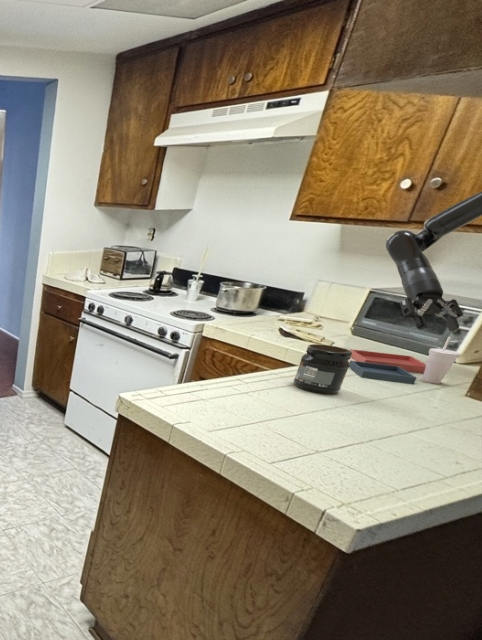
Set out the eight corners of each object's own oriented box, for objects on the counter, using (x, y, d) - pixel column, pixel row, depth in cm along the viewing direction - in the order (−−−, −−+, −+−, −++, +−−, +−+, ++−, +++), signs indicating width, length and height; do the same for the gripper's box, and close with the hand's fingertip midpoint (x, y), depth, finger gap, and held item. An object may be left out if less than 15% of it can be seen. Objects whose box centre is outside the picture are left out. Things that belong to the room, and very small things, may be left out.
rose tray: (408, 361, 162) (411, 356, 161) (428, 373, 150) (431, 367, 149) (348, 354, 169) (350, 349, 168) (363, 365, 157) (365, 359, 156)
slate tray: (396, 372, 151) (399, 366, 150) (413, 384, 141) (416, 377, 140) (347, 366, 156) (350, 360, 155) (361, 377, 146) (363, 370, 145)
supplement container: (335, 386, 137) (350, 347, 133) (342, 397, 129) (358, 356, 125) (290, 379, 143) (303, 341, 138) (294, 389, 135) (308, 349, 130)
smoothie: (432, 378, 146) (452, 334, 141) (452, 385, 140) (475, 340, 135) (409, 377, 146) (429, 334, 141) (429, 384, 141) (450, 339, 135)
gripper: (406, 277, 146) (424, 321, 139) (458, 278, 144) (478, 323, 138) (385, 291, 152) (401, 334, 146) (434, 293, 151) (452, 336, 144)
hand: (438, 329), depth 142 cm, fingers open, 8 cm apart
